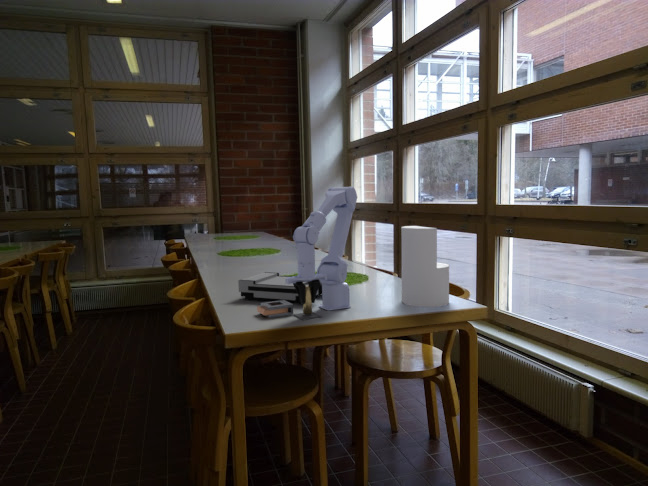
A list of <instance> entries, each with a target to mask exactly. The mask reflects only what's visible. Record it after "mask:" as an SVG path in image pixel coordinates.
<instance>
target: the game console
mask: <svg viewBox="0 0 648 486" xmlns="http://www.w3.org/2000/svg"><path fill="white" fill-rule="evenodd" d="M288 277H293V275H291V276H290V275H280V272H268V271H265V272H261V273H257V274H256V275H255V274H254V275H252V276H247V277H245V278H242V279H239V280H237V283H238V293H240V296H241V297H244V300H245V301H253V302H262V303H264V302H272V301H280V300H285V301H287V302H289V303H292V304H293V305H301V306H303V304H300V300H299V296H298V293H297V291H296V289H295V287H294V285H293V283H292V284H286V283H285V278H288ZM319 282H320V280H319ZM303 283H304V285H306V286H309V285H308V282H303ZM319 296H322V283H321V285H320V287H319V289H318V291H317V294H316V297H315V298H317V297H319Z"/></svg>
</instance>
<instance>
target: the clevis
mask: <svg viewBox="0 0 648 486" xmlns="http://www.w3.org/2000/svg"><path fill="white" fill-rule="evenodd" d="M256 312H258V313H259V314H262V315H263V316H265V317H266V318H268V319H272V318H280V317H288V316H292V315H293V316H294V304H292V303H289V302H287V301H285V300H280V301H272V302H260V306H256Z"/></svg>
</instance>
